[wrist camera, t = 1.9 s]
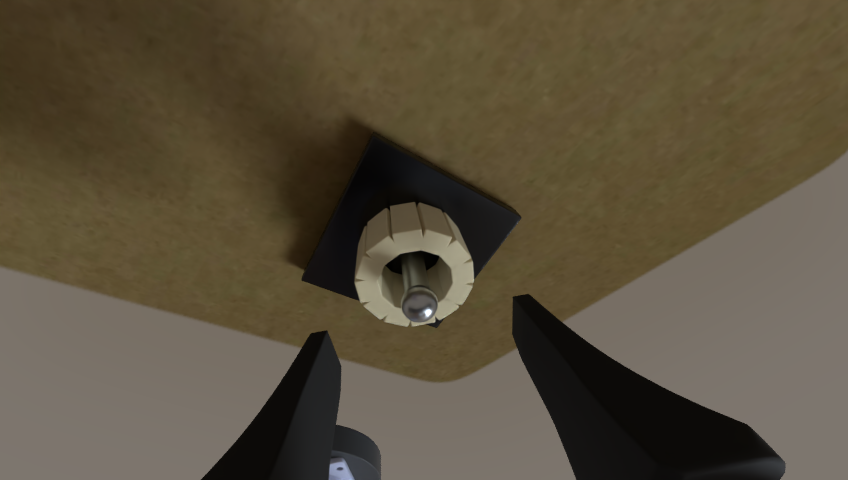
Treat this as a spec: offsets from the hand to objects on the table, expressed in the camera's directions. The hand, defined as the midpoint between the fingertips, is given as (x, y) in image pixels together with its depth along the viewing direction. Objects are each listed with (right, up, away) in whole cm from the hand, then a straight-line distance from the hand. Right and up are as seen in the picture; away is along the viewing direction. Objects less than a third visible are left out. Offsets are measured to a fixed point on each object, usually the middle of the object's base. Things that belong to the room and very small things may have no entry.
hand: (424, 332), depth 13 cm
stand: (-1, +4, +6) cm, 7 cm away
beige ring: (-1, +3, +5) cm, 6 cm away
